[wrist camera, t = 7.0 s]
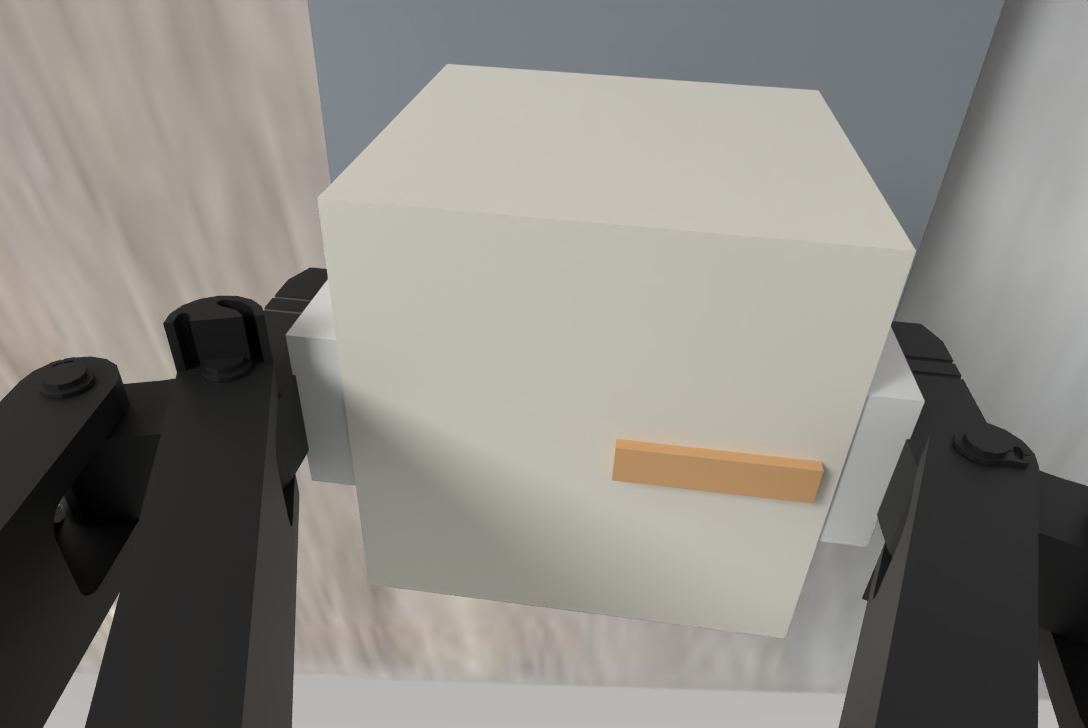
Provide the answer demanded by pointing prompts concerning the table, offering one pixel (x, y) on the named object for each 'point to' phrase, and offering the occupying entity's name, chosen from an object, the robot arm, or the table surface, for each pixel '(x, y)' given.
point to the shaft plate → (682, 64)
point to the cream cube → (607, 340)
